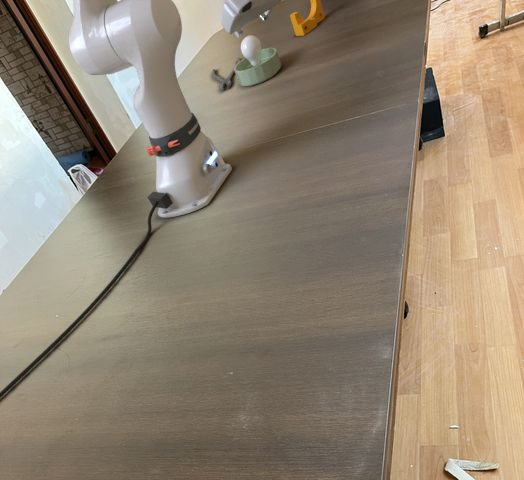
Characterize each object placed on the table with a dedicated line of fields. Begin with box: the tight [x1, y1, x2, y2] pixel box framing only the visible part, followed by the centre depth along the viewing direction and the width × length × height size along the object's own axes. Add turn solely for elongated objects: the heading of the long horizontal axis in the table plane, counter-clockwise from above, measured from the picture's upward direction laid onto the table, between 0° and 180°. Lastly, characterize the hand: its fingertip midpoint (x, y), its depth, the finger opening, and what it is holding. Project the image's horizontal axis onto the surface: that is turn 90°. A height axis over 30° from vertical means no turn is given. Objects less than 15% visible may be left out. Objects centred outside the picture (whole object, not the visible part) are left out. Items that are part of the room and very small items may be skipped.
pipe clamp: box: [289, 0, 326, 37], centre depth 167 cm, size 12×4×6 cm, turn 130°
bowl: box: [233, 47, 282, 87], centre depth 154 cm, size 14×14×5 cm
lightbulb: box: [240, 34, 263, 67], centre depth 152 cm, size 6×6×11 cm
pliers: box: [211, 57, 242, 92], centre depth 168 cm, size 11×1×25 cm
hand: (251, 26), depth 143 cm, fingers open, 8 cm apart
